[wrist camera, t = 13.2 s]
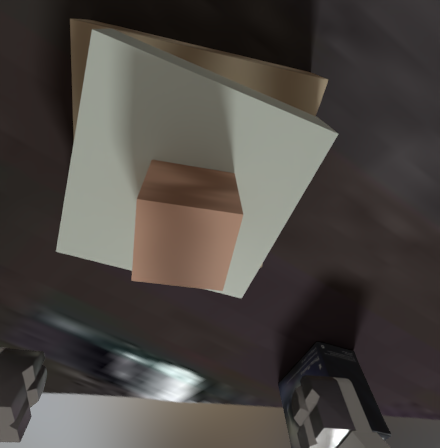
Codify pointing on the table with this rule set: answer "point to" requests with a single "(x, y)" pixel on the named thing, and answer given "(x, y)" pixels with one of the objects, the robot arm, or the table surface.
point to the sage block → (180, 150)
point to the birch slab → (211, 60)
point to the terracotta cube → (185, 226)
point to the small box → (332, 367)
